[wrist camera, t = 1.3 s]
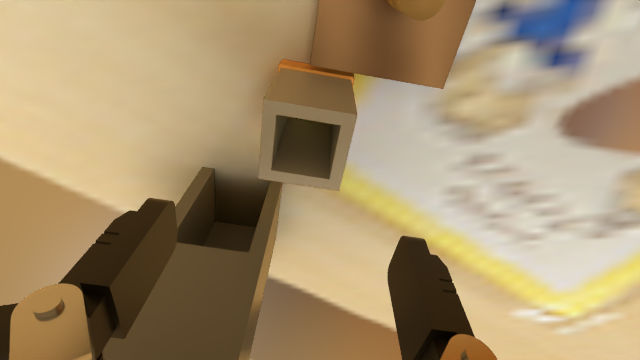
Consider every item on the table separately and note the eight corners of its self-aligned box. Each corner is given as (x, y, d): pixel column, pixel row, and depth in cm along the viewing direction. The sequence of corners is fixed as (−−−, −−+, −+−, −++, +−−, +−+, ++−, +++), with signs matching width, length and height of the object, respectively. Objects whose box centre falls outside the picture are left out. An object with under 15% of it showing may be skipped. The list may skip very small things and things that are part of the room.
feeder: (284, 178, 28) (228, 410, 13) (276, 238, 32) (226, 471, 17) (201, 165, 28) (47, 389, 13) (203, 228, 32) (87, 456, 17)
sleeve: (353, 71, 23) (362, 112, 16) (339, 137, 26) (341, 194, 19) (281, 59, 23) (260, 94, 16) (275, 126, 26) (254, 180, 19)
